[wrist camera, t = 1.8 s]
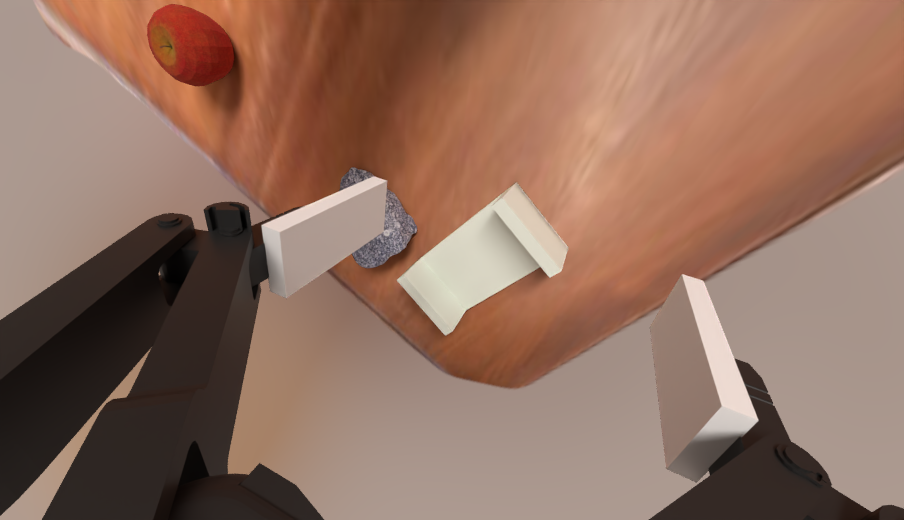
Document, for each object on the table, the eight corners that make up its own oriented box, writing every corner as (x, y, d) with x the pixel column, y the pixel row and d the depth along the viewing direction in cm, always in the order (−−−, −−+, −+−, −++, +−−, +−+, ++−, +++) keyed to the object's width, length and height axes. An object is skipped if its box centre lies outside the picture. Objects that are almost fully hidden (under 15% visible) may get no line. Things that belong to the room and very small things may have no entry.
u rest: (417, 260, 47) (396, 280, 43) (516, 182, 38) (502, 197, 33) (461, 310, 48) (445, 335, 44) (568, 247, 39) (561, 271, 34)
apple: (243, 17, 41) (175, 8, 35) (251, 90, 46) (191, 94, 39) (194, 4, 43) (121, -6, 37) (206, 76, 48) (142, 78, 41)
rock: (412, 242, 41) (360, 284, 46) (430, 230, 46) (381, 269, 51) (346, 158, 40) (300, 210, 45) (371, 155, 45) (327, 202, 50)
